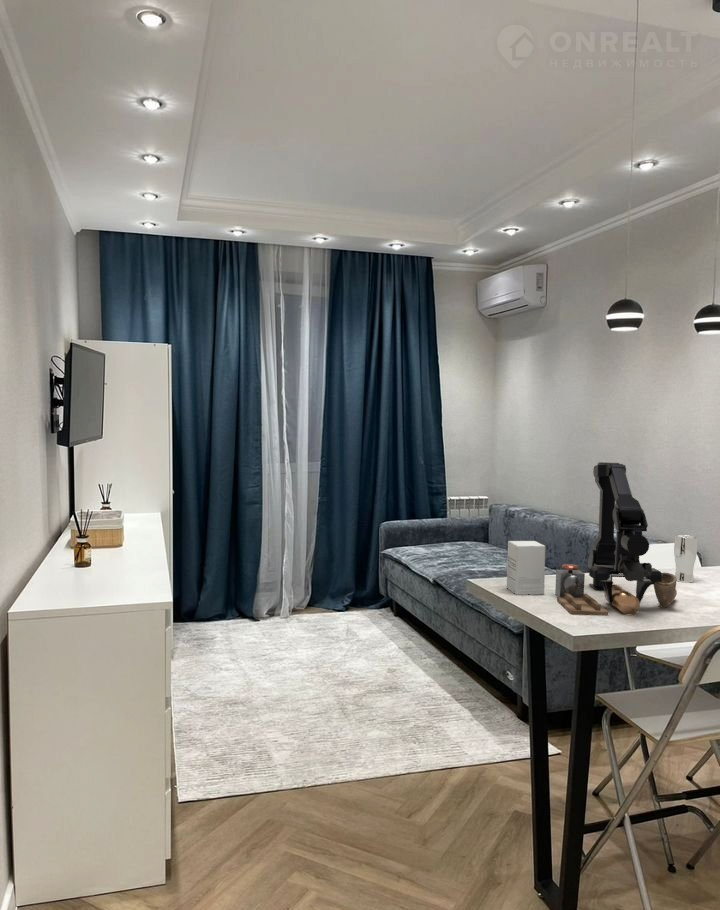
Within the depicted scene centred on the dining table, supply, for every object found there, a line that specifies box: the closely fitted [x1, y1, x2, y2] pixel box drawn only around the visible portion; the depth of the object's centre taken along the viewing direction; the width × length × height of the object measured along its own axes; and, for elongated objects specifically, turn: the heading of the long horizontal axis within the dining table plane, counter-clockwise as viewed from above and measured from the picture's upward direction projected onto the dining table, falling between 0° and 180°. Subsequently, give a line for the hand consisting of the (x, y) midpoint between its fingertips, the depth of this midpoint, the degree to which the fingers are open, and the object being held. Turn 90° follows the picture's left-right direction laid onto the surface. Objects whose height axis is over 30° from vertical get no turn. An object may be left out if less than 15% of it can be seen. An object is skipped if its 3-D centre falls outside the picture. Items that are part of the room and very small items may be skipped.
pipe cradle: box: [556, 593, 609, 616], centre depth 195 cm, size 14×10×3 cm
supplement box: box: [506, 540, 546, 596], centre depth 212 cm, size 9×9×15 cm
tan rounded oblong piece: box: [603, 583, 641, 615], centre depth 195 cm, size 12×6×6 cm, turn 0°
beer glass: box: [673, 534, 698, 584], centre depth 233 cm, size 7×7×15 cm
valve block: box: [554, 563, 586, 598], centre depth 206 cm, size 7×7×9 cm
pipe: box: [653, 571, 678, 609], centre depth 201 cm, size 6×17×10 cm, turn 146°
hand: (624, 604), depth 195 cm, fingers open, 7 cm apart
